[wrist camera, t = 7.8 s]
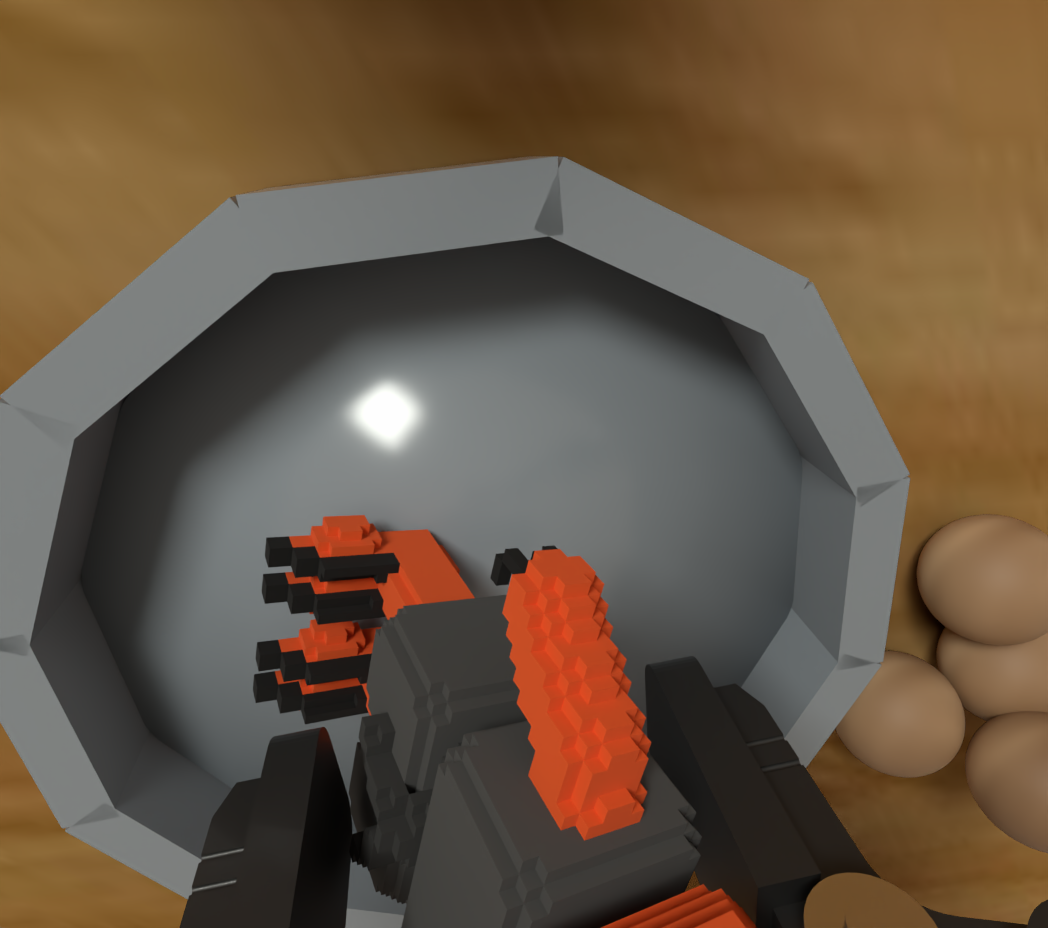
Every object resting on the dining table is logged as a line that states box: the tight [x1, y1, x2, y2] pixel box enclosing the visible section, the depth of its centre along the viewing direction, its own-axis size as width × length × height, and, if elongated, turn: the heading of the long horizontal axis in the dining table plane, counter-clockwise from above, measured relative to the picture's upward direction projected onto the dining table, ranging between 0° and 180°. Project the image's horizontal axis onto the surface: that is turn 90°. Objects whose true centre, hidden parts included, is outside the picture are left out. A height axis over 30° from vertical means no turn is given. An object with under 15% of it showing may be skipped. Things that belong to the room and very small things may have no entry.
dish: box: [0, 156, 910, 928], centre depth 13 cm, size 16×16×2 cm
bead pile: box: [835, 514, 1048, 853], centre depth 15 cm, size 7×8×5 cm
